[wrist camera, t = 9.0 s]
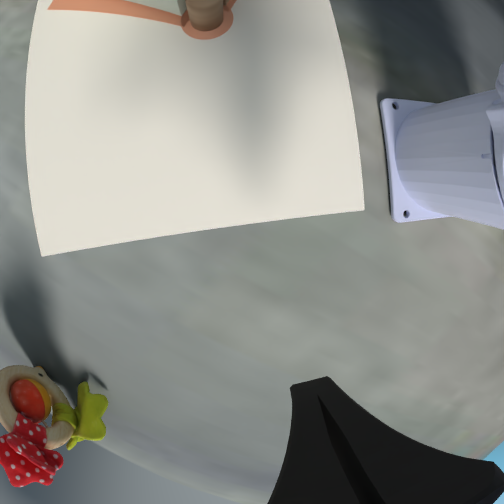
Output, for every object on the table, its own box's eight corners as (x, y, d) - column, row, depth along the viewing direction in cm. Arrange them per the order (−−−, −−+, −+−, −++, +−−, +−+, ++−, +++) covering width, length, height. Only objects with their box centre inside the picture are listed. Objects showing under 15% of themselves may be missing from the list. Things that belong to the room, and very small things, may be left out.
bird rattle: (45, 377, 21) (107, 451, 20) (-46, 407, 11) (21, 509, 9) (61, 336, 21) (132, 419, 19) (-50, 361, 10) (27, 489, 8)
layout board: (295, -85, 11) (296, -88, 11) (361, 209, 18) (364, 210, 17) (51, -38, 10) (49, -40, 10) (44, 255, 17) (41, 256, 16)
